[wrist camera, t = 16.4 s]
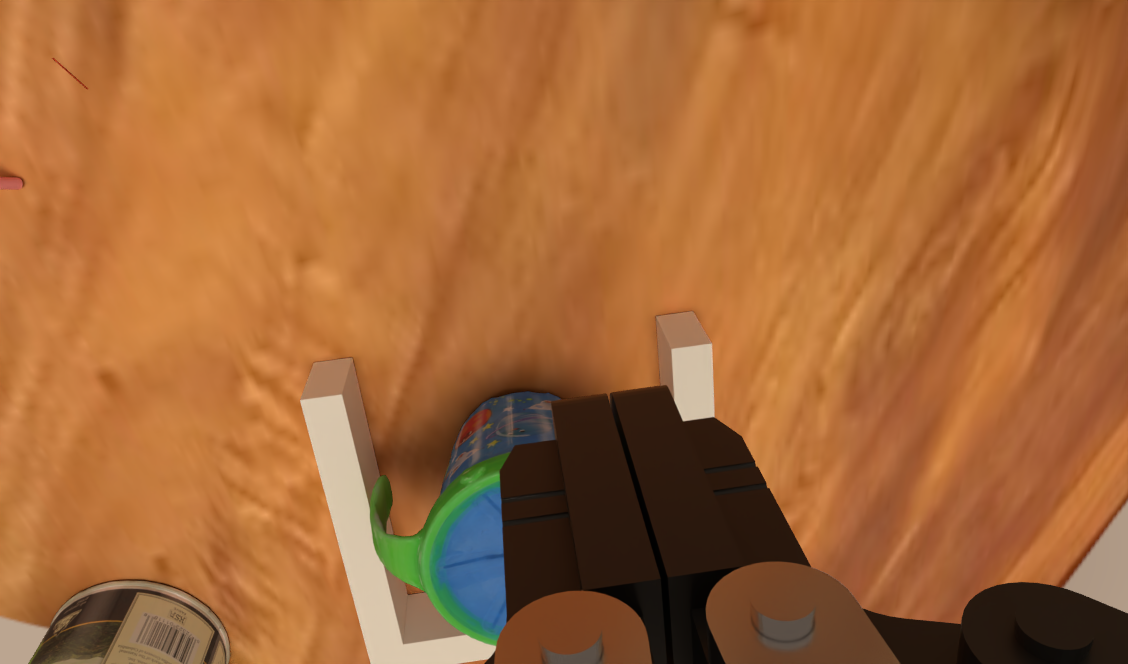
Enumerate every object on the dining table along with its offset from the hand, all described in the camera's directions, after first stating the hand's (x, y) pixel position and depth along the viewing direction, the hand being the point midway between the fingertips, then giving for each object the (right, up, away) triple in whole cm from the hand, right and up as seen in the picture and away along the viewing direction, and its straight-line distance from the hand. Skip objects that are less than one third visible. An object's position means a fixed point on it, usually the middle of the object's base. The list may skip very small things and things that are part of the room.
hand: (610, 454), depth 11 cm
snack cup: (-3, -5, +37) cm, 38 cm away
